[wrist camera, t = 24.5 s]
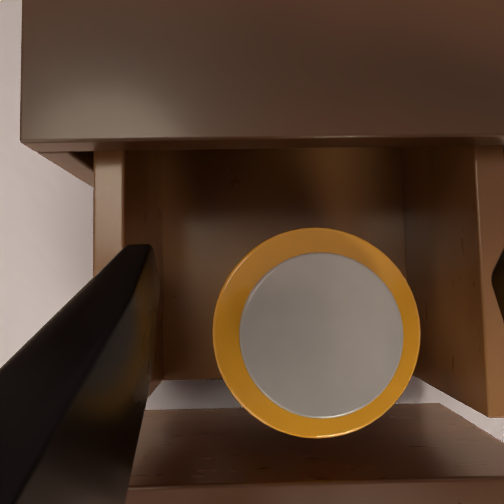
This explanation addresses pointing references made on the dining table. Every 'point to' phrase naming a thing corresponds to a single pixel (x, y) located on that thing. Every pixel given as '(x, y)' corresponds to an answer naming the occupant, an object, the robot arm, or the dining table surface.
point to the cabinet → (258, 75)
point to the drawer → (324, 216)
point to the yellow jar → (316, 332)
